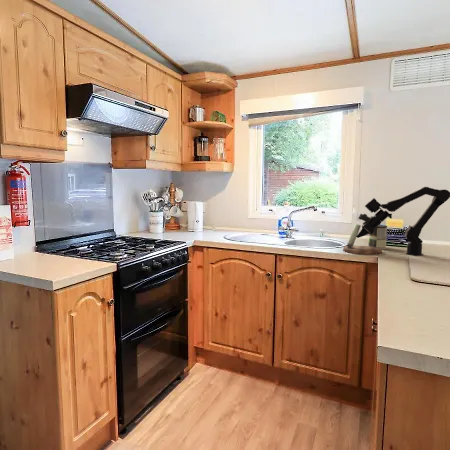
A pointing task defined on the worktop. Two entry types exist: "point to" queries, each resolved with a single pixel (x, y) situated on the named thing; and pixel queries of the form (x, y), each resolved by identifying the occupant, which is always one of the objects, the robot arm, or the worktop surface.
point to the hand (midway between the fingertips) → (356, 237)
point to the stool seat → (362, 250)
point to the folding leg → (354, 234)
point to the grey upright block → (378, 237)
